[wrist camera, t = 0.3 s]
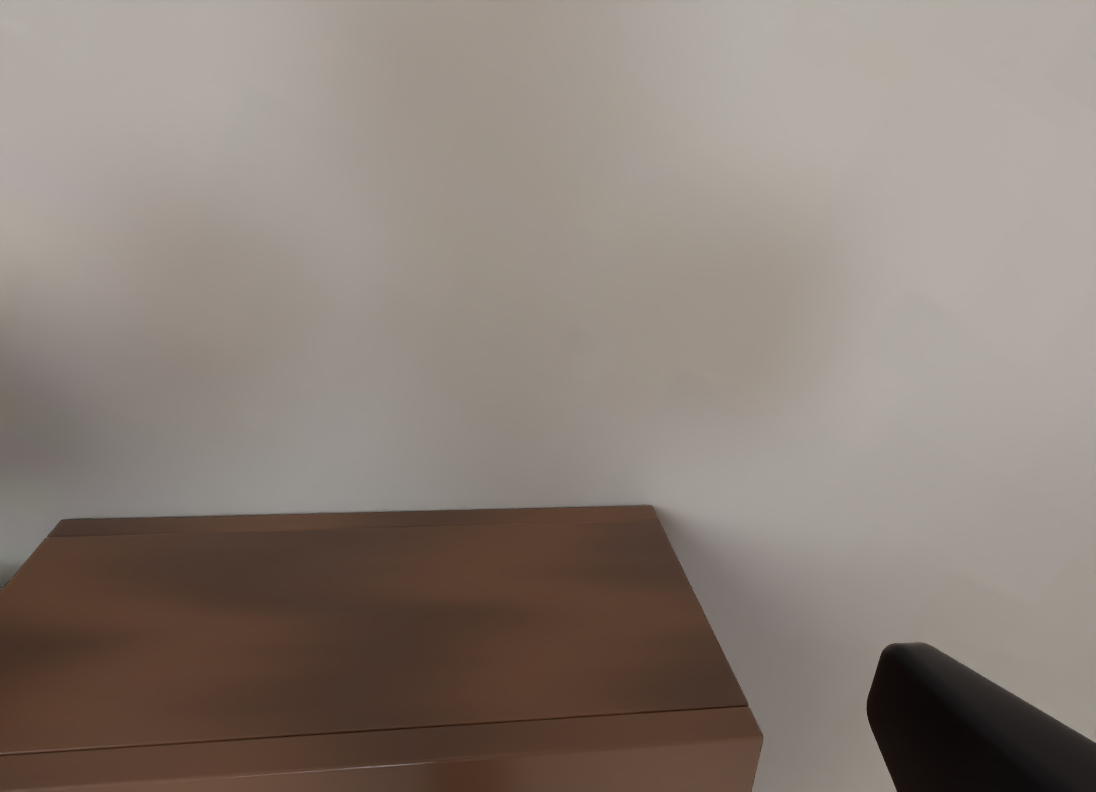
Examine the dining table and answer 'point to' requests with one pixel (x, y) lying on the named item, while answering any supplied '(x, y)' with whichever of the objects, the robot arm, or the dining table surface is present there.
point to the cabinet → (367, 657)
